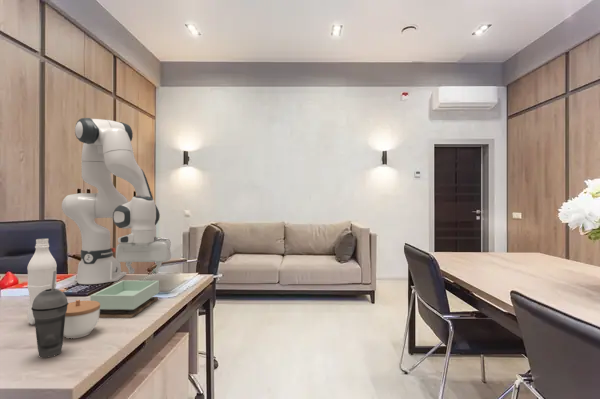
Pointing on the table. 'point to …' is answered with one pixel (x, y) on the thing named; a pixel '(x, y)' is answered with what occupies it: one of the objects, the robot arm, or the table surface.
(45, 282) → the water bottle
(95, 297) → the mint green tray
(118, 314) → the track
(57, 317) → the beverage cup
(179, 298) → the table surface
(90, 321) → the lidded jar
